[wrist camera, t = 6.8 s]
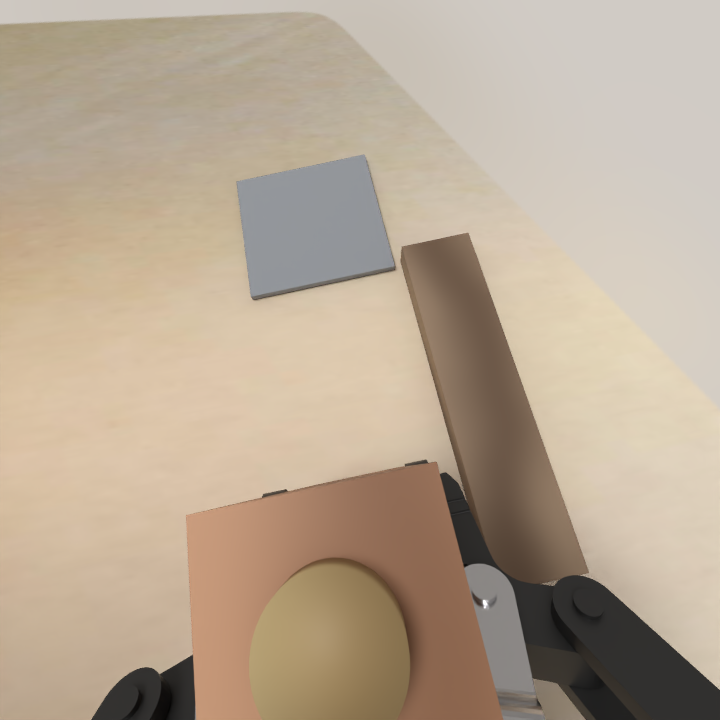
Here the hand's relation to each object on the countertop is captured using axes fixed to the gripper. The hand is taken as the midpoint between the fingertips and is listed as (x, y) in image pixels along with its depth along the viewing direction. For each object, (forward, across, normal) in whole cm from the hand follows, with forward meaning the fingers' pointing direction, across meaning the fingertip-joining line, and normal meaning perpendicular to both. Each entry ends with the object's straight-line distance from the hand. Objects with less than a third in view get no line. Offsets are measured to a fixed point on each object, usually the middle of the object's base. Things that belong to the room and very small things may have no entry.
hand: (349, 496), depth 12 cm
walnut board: (+7, -7, +2) cm, 11 cm away
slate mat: (+17, 0, -7) cm, 18 cm away
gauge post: (+3, 0, +5) cm, 6 cm away
